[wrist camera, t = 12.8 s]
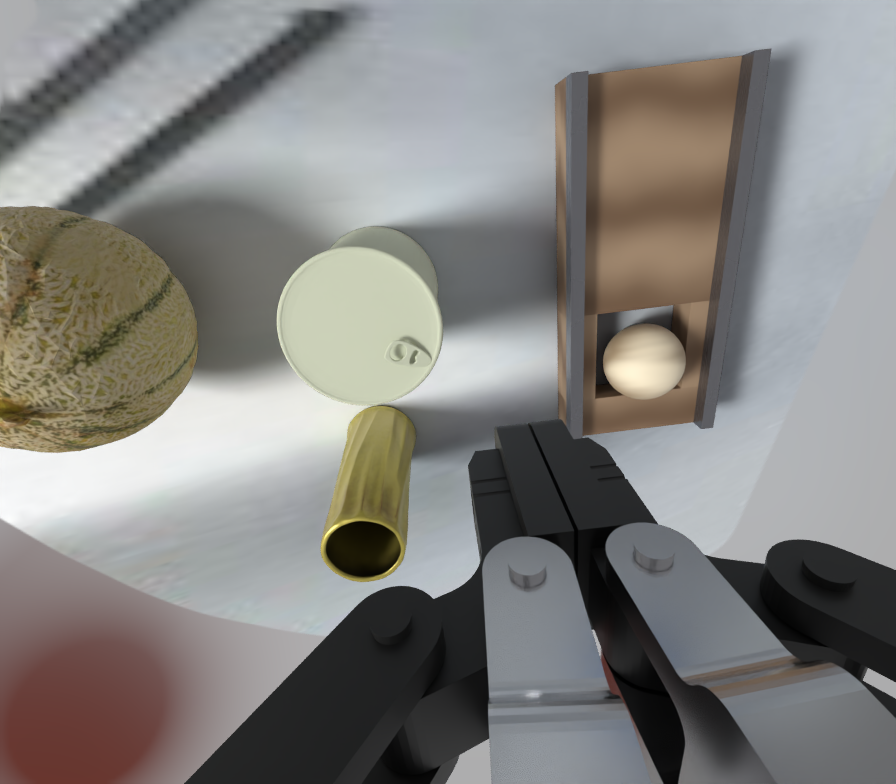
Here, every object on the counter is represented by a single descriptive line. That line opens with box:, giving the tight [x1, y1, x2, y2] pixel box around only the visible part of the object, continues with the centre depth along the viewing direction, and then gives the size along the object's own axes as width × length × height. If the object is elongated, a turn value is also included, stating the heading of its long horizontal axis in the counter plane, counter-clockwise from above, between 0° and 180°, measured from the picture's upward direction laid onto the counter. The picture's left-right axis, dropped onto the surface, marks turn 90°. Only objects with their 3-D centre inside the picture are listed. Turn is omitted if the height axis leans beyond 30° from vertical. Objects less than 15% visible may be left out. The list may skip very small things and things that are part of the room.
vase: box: [321, 406, 416, 582], centre depth 34 cm, size 6×6×14 cm
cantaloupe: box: [0, 206, 198, 453], centre depth 28 cm, size 15×15×15 cm
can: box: [277, 227, 443, 405], centre depth 30 cm, size 9×9×12 cm
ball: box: [603, 323, 686, 400], centre depth 36 cm, size 6×6×6 cm
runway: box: [555, 49, 771, 439], centre depth 34 cm, size 26×12×4 cm, turn 6°
